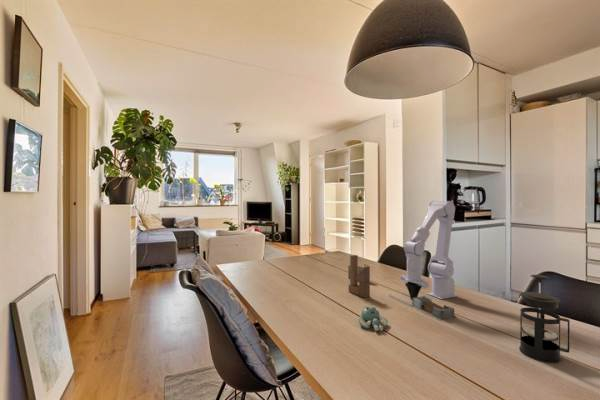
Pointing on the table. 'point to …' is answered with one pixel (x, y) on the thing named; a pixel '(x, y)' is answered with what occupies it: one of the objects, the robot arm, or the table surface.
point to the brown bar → (431, 306)
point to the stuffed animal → (372, 318)
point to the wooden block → (359, 278)
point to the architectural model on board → (358, 269)
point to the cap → (420, 301)
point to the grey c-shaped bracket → (443, 312)
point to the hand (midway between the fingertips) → (413, 299)
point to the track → (416, 307)
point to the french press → (541, 327)
